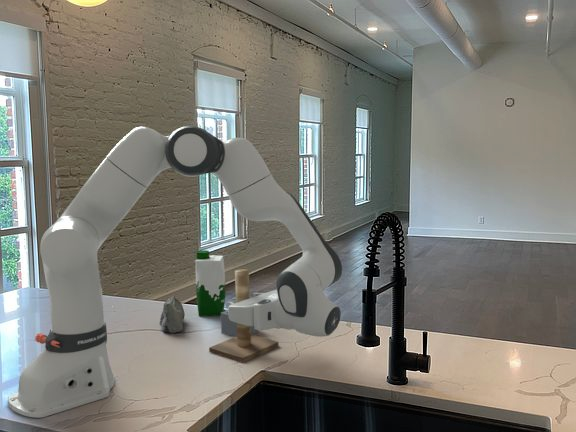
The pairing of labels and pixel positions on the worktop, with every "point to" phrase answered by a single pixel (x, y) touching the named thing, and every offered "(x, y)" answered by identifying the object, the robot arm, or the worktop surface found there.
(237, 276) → the dowel
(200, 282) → the milk carton
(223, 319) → the open box
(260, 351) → the tray
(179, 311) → the mineral rock
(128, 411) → the worktop surface
